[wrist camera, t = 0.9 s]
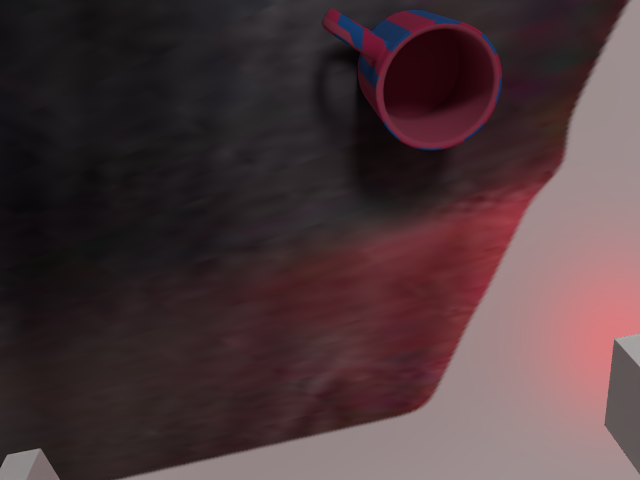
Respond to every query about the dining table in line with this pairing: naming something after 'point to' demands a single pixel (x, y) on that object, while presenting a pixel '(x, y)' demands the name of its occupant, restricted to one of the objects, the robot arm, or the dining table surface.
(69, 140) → the dining table surface
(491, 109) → the mug
